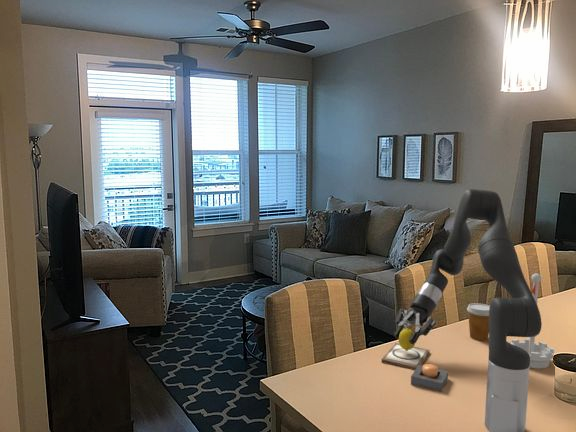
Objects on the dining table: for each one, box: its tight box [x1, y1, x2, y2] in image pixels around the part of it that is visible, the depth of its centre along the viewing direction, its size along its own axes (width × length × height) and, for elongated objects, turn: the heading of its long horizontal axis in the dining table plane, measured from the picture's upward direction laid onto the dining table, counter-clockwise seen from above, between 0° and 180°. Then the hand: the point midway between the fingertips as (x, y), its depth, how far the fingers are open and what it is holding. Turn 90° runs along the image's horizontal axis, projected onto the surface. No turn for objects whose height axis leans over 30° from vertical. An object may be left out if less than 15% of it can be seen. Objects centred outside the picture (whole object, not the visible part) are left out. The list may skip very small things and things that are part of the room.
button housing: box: [410, 365, 449, 392], centre depth 142 cm, size 9×9×2 cm
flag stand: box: [509, 273, 555, 369], centre depth 155 cm, size 13×13×30 cm
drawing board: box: [381, 342, 431, 371], centre depth 160 cm, size 16×12×1 cm
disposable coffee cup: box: [466, 302, 490, 341], centre depth 177 cm, size 10×10×12 cm
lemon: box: [398, 327, 416, 351], centre depth 159 cm, size 6×6×8 cm
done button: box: [422, 363, 439, 378], centre depth 142 cm, size 4×4×2 cm
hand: (403, 340), depth 158 cm, fingers closed on lemon, 5 cm apart
